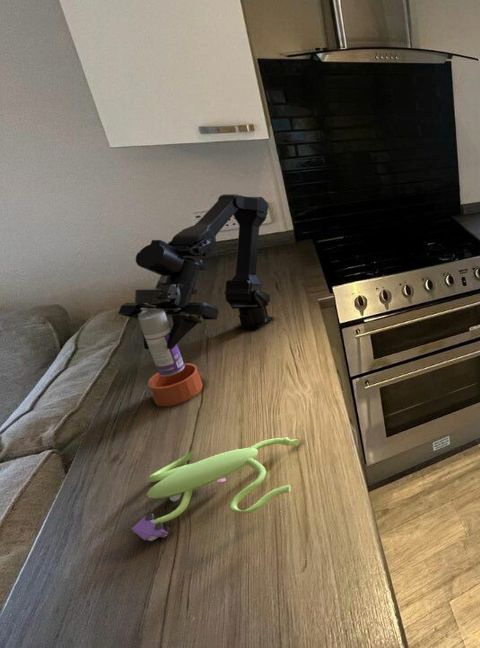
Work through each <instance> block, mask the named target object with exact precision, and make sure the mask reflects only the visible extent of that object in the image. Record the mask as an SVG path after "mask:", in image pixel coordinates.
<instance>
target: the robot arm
mask: <svg viewBox="0 0 480 648" xmlns="http://www.w3.org/2000/svg"><path fill="white" fill-rule="evenodd" d="M268 211H269V203H268V201H267V200H265V198H264V197H263V196H244V195H240V194H237V193H236V194H235V193H232V194H229V193H225V194H222V195H221V194H220V195H219V196H218V198H217V201H216V202H215V203H214V204H213V205H212V206H211V207H210V209H209V210H207V212H206V213H205V214H204V215H203V216H202V217H200V219H199V220H198V221H197V222H196V223H195V224H193V225H191V226H189V227H186V228H183V229H181V231H179V232H177V233H176V234H175V235H174V236H173V237H172V239H171V240H170V241H168V242H166V241H164V240H162V239H152V240H150V241H151V242H150V244H148V245H145V246H144V247H142V248H141V249H140V251H139V252H137V253H136V255H135V263H136V264H137V266H138V267H140V268H142V269H144V270H147V271H150V272H152V273H155V274H156V275H159V276H162V277H165V278H164V280H163V282H158V283H157V284H156V287H155V288H142V289H141V288H140V289H139V288H138V289H135V290H134V291H135V292H134V302H125V303H123V304H122V305H120V308H119V310H118V313H117V315H120V316H122V317H127V318H131V319H134V320H137V321H138V322H139V319H138V317H139V315H141V314H143V313H145V312H147V311H150V310H155V309H162V310H164V312H165V314H166V316H171V320H172V327H171V329H172V330H171V333H170V337H169V340H168V344H167V349H172V348H173V347H174V346H175V345H176V344H177V345H178V343H179V342H180V341H181V340H182V339H183V338H184V337H185V336H186V335H187V334H188V333H189V332H190V331H191V330H192V329H193V328H195V326H197V325H198V324H201V323H202V322H203V321H202V320H201V318H202V319H203V320H210V321H211V320H212V321H213V320H214V321H215V320H217V319H218V317H219V313H220V311H219V309H218V307H217V306H214V305H211V304H209V303H207V302H205V301H203V302H201V301H200V302H199V301H197V302H195V301H194V302H190V301H191V299H192V295H197V293H198V289H196V288H195V285H196V282H197V278H198V275H199V273H200V271H206V270H207V266H206V265H205V263H204V262H203V260H202V259H193V258H191V257H207V256H209V255H210V254H211V252H212V251H213V250H214V247H215V246H216V244H217V239H216V238H217V235H218V233H220V232H221V230H222V229H223V228H224V226H225V225H226V224H228V222H229V221H230V219H231V218H232V217H233V218H234V219H235V221H236V222H237V225H238V238H237V251H236V261H235V274H234V275H233V277H232V278H231V279H227V280H226V282H225V291H224V295H225V301H226V302H227V303H228V305H229V306H230V308H231V309H232V310H235V309H236V310H237V309H238V313H239V314H238V318H239V320H240V324H238V327H239V328H243V329H249V330H255V331H256V330H258V329H260V328H261V327H263V326H265V325H266V324H268V323H270V322H271V321H272V320H273V319H274V318H273V316H269V314H268V310H267V307H268V306H269V303H270V302H271V296H270V294H269V293H267V292H265V291H263V290H262V283H261V281H260V279H259V278H258V276H257V262H258V249H259V237H260V227H261V226H262V225H263V223H264V222H265V221H266V219H267V216H268ZM142 340H143V348H144V349H145V350H150V349H149V347H148V344H147V342H146V339H145V337H144V334H143V333H142Z"/></svg>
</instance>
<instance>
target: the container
mask: <svg viewBox="0 0 480 648" xmlns="http://www.w3.org/2000/svg"><path fill="white" fill-rule="evenodd" d="M138 319H139V321H138V323H139V325H140V327H141V331H142V335H143V334H144V337H145V339H146V342H147V344H148V347H149V349H148V350H149V352H150V355H151V357H152V360H153V362H154V365H155V367H156V369H157V373H158V372H159V375H160V376H163V377H166V376H171V375H174V374H177V373H179V372H180V371H182V370H183V369H184V367H185V365H184V364H185V363H184V360H183V357H182V354H181V351H180V349H179V346H178V343H177V344H176V345H175V346H174V347H173V348H172V349H167V344H168V340H169V337H170V333H171V330H172V327H171V325H170V322H169V319H168V317H167V315H166V314H165V312H164V310H162V309H155V310H150V311H147V312H145V313H143V314H141V315H139V317H138Z"/></svg>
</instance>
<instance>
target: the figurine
mask: <svg viewBox="0 0 480 648" xmlns="http://www.w3.org/2000/svg"><path fill="white" fill-rule="evenodd" d="M300 442H301V440H299V438H295V439H291V438H290V437H287V436H286V437H276V438H269V439H265V440H261V441H259V442H257V443H254V444H253V445H251V446H249V447H244V448H239V449H238V448H237V449H233V450H229V451H225V452H222V453H219V454H215V455H212V456H210V457H207V458H204V459H201V460H198V461H196V462H194V463H188V464H185V463H187V462H188V461H190V460H192V459H193V458H194V457H195V455H194V454H195V453H194V452H193V450H190V452H188V453H187V454H185V455H184V456H182V457H180V458H179V459H176V460H175V461H172V463H169V464H167V465H166V466H164V467H162V468H160V469H159V470H156V471H155V472H153V473H152V474H151V475H150V476H149V477H148V478H147V481H148V482H149V483H155V482H157V483H155V484H154V485H152V486H151V487H150V488H149V490H148V492H147V493H146V495H147V498H148V499H157V500H159V499H164V498H165V499H166V498H169V500H170V501H171V502H173V503H176V502H177V501H179V500H180V499H181V498H182V499H181V501H180V503H179V505H178V506H177V507H176V509H174V510H173V511H171V512H170V513H168V514H165V515H163V516H161V517H158V516H155V514H154V513H148V514H146V515H144V516H143V517H142V518H141V519H140V520H139V521H138V522H137V523H136V524H135V525H134V526H133V527H131V531H133V532H134V533H135V534H137V536H139V537H140V538H141V539H143V540H144V541H148V542H153V541H155V540H156V539H158V538H163V539H164V538H166V537H167V536H168V535H169V534H170V533H169V532H170V526H166V525H165V526H164V523H166V522H168V521H171V520H173V519H176V518H177V517H178V516H180V515H181V514H182V513H184V512H185V510H186V509H187V508H188V506H189V504H190V501H191V499H192V496H193V492H194V491H195V490H197V489H200V488H203V487H206V486H208V485H211V484H213V483H215V482H217V483H224V482H226V481H227V478H226V477H228V476H230V475H232V474H233V473H235V472H237V471H238V470H240V469H242V468H244V467H245V466H249V467H250V468H252V469H253V470H254V471H255V472H257V474H258V475H257V477H256V479H255V480H254V481H252V483H250V484H249V485H247V486H246V487H245V488H243V489H241V491H239V492H238V493H237V494H236V495H235V496H234V497H233V498H232V499H231V501H230V502H229V505H228V506H229V510H230V511H232V512H233V513H236V514H237V513H240V514H251V513H254V512H256V511H258V510H259V509H261V508H263V507H264V506H265V505H266V504H267V503H268V502H269V501H271V500H272V499H274V498H276V497H278V496H280V495H283V494H286V493H290V492H291V490H292V487H291V486H292V485H291V484H287V485H283V486H279V487H276V488H274V489H273V490H270V491H269V492H267V493H266V494H265V495H263V496H262V497H261V498H259V500H258V501H257V502H255V503H254V504H253V505H251V506H250V507H249V508H247V509H244V510H242V509H239V507H238V505H239V504H240V502H241V501H242V500H243V499H244V498H245V497H246V496H247V495H248V494H250V493H251V492H252V491H254V490H255V489H257V488H258V487H259V486H261V484H262V483H263V482H264V480H265V478H266V474H267V470H266V467H264V466H263V464H261V463H260V462H259V461H258V460H256V459H255V458H256V457H257V456H258V453H259V451H258V450H259V449H262V448H265V447H268V446H269V447H270V446H273V445H281V446H282V445H283V446H287V447H292V446H294V447H296V448H297V447H298V446H299V444H300ZM184 464H185V465H184ZM182 495H183V496H182Z"/></svg>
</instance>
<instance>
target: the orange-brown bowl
mask: <svg viewBox="0 0 480 648" xmlns="http://www.w3.org/2000/svg"><path fill="white" fill-rule="evenodd" d="M184 365H185V367H184V369H183V370H182V371H180V372H179V373H177V374H174V375H171V376H166V377H163V376H160V375H159V372H158V371H157V373H155V374H154V375H152V376H150V378H149V380H148V381H147V387H148V390H149V392H150V395H151V398H152V400H153V402H154V404H155V405H157V406H160V407H171V406H175V405H179V404H182V403H184V402H187V401H189V400H190V399H192V398H194V397H195V396H197V395H198V394H200V392H201V391H202V389H203V387H204V383H203V380H202V376H201V373H200V370H199V368H198V366H197V365H196V364H193V363H184Z"/></svg>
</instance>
